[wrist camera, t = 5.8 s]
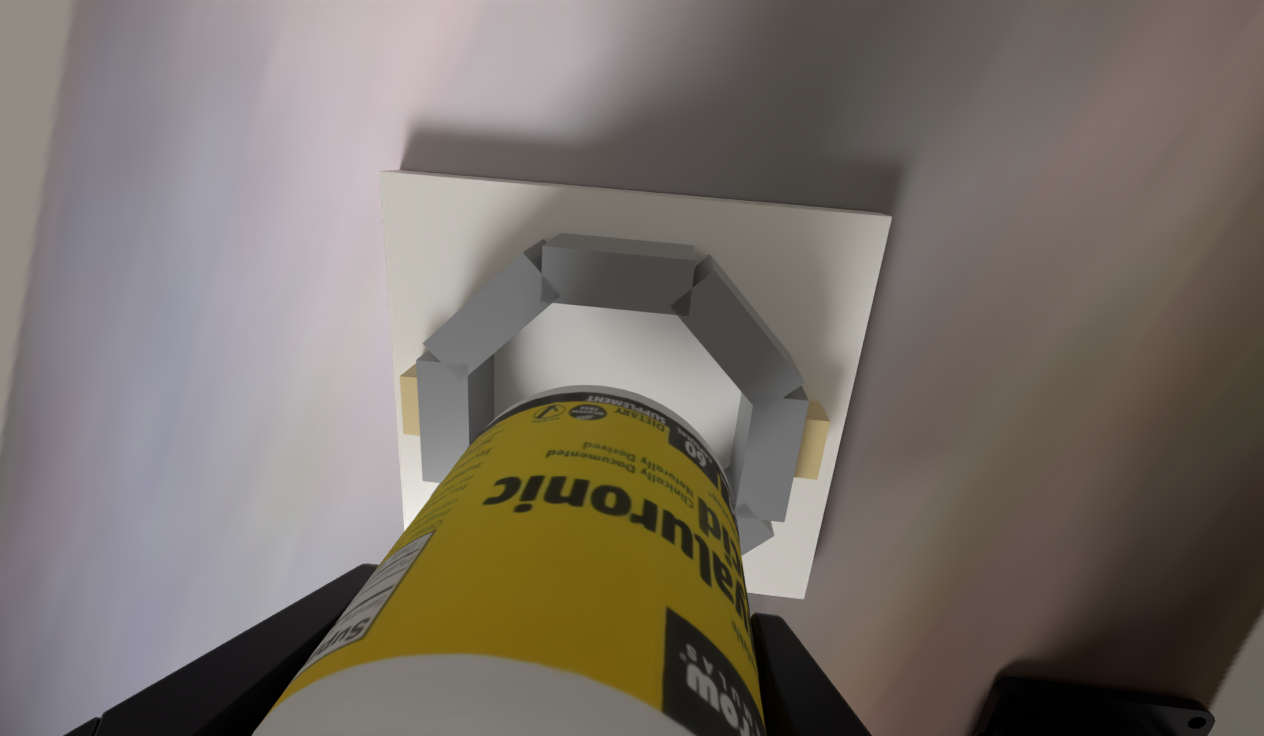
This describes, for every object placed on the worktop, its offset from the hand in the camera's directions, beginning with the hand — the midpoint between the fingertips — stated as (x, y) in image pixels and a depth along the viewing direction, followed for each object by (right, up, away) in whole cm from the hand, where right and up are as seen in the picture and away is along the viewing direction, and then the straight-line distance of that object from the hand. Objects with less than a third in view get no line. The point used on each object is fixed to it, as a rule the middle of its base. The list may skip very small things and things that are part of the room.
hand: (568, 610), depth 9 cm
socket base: (+1, +3, +8) cm, 8 cm away
